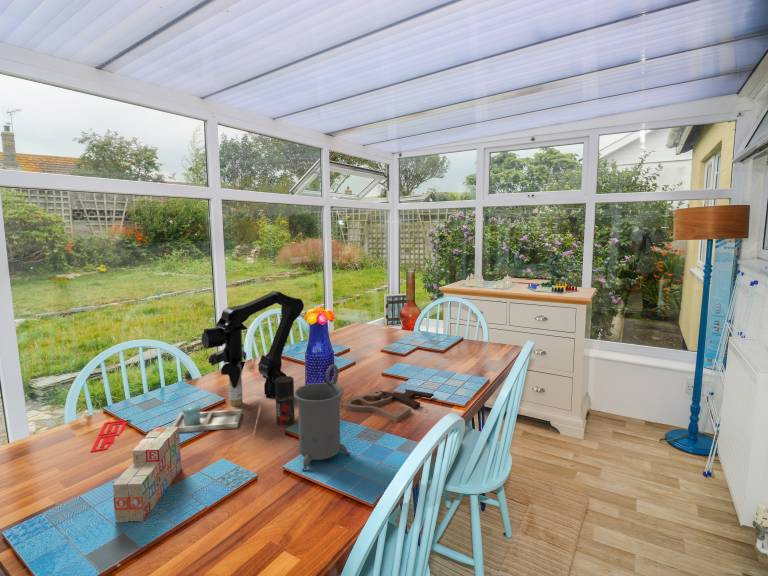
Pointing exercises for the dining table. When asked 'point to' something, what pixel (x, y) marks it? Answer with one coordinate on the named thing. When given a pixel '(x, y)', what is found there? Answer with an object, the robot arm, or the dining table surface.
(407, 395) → the wood carving
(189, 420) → the pot
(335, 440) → the grey footed bucket
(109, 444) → the maze puzzle
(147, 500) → the stack of blocks
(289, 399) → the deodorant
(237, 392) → the sprinkles bottle
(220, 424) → the caddy
